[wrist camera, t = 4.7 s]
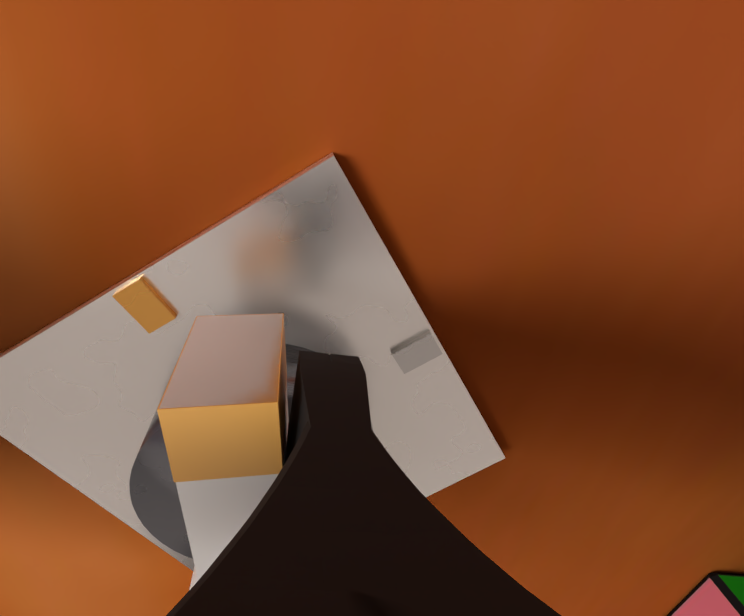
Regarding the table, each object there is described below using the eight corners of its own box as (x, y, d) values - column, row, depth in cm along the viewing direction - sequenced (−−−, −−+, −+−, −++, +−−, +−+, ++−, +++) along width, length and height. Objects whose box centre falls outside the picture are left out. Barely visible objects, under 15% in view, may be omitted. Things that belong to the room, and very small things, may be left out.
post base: (229, 583, 19) (217, 664, 17) (-48, 383, 13) (-134, 460, 10) (500, 448, 18) (535, 513, 15) (332, 152, 12) (342, 175, 9)
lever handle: (312, 530, 13) (315, 653, 10) (214, 540, 13) (191, 671, 10) (305, 312, 10) (307, 407, 7) (172, 316, 9) (120, 419, 7)
